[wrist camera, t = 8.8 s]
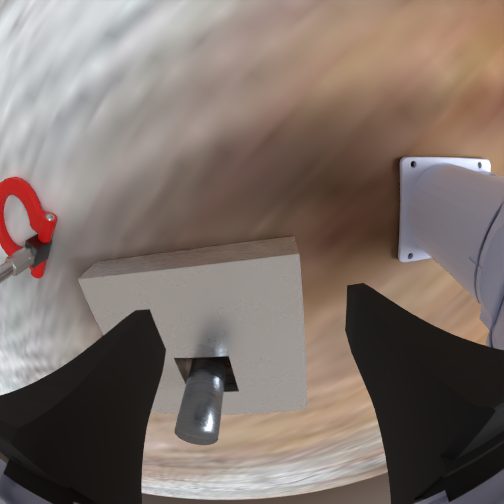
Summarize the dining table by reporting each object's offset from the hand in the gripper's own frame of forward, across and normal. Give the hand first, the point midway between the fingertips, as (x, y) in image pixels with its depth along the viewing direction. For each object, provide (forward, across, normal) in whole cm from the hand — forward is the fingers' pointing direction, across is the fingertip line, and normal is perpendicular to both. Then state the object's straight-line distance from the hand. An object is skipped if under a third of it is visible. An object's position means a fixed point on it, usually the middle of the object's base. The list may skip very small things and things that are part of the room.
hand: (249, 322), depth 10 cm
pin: (+11, +5, +11) cm, 16 cm away
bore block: (+10, +5, +9) cm, 15 cm away
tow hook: (+11, +21, -4) cm, 24 cm away
